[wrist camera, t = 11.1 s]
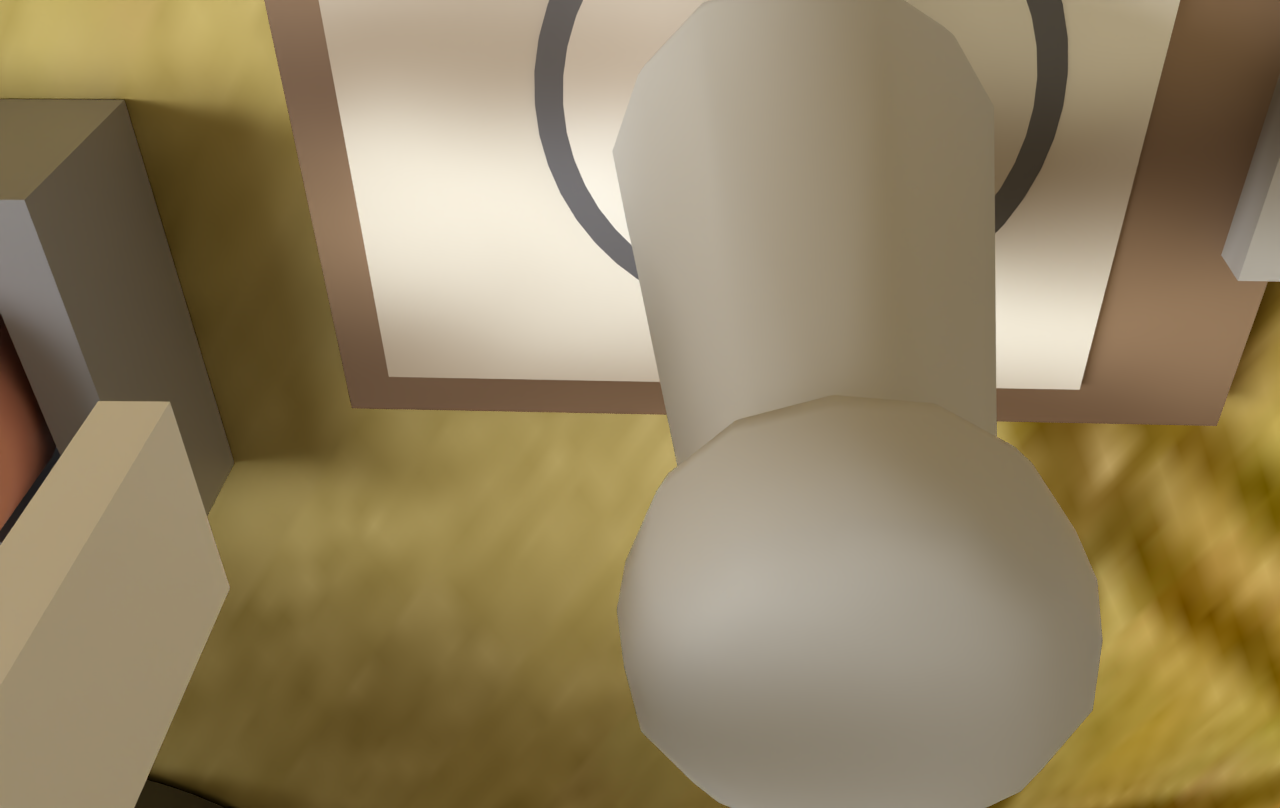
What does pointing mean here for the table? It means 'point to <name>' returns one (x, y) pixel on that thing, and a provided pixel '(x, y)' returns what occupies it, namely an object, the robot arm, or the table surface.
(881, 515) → the salt shaker
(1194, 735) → the table surface
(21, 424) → the button
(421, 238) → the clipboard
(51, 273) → the button housing
